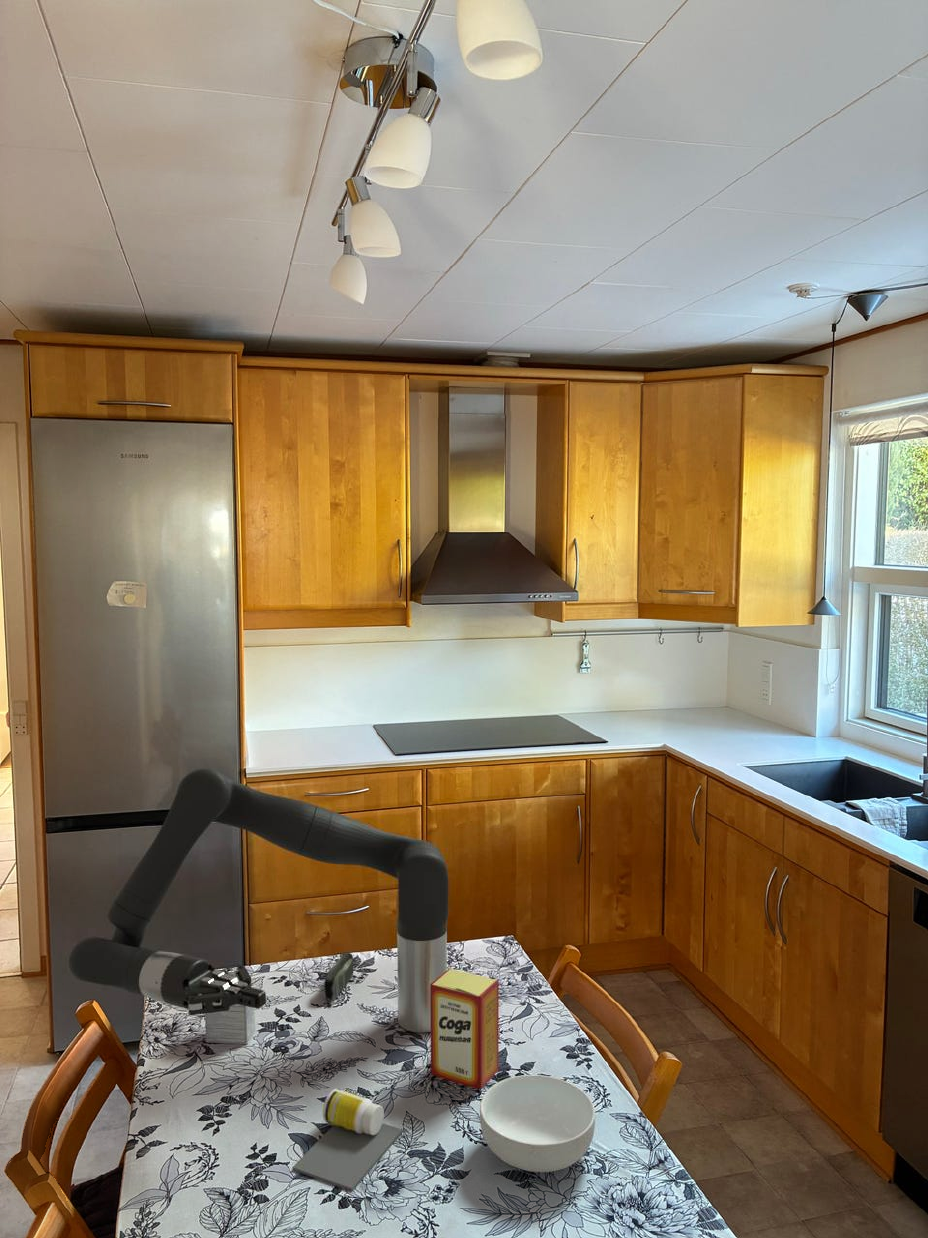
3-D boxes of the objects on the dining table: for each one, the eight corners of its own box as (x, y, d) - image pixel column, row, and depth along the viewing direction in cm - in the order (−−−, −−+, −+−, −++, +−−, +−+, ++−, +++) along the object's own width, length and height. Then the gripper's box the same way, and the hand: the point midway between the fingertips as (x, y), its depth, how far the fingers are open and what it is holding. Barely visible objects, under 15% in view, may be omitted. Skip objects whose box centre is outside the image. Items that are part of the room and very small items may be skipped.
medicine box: (255, 1032, 163) (255, 986, 162) (247, 1045, 158) (246, 998, 158) (214, 1030, 164) (213, 984, 163) (204, 1043, 159) (203, 996, 159)
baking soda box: (430, 1074, 149) (430, 982, 148) (449, 1055, 155) (449, 966, 154) (480, 1090, 145) (480, 995, 144) (498, 1070, 150) (498, 978, 149)
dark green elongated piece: (341, 950, 187) (319, 981, 172) (355, 951, 186) (334, 982, 172) (341, 973, 187) (320, 1007, 172) (355, 974, 187) (335, 1008, 172)
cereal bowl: (563, 1211, 118) (564, 1160, 117) (457, 1166, 127) (457, 1118, 126) (613, 1140, 132) (613, 1094, 132) (515, 1104, 141) (515, 1061, 141)
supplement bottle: (319, 1126, 134) (366, 1143, 130) (323, 1093, 135) (370, 1109, 131) (337, 1116, 138) (383, 1132, 134) (341, 1084, 139) (387, 1099, 135)
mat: (292, 1170, 126) (292, 1167, 126) (346, 1114, 138) (346, 1112, 138) (352, 1191, 121) (352, 1188, 121) (402, 1132, 134) (402, 1129, 134)
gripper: (144, 974, 137) (233, 995, 129) (203, 940, 148) (288, 958, 141) (146, 1021, 137) (235, 1045, 130) (205, 983, 149) (290, 1004, 141)
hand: (262, 1000), depth 135 cm, fingers closed
